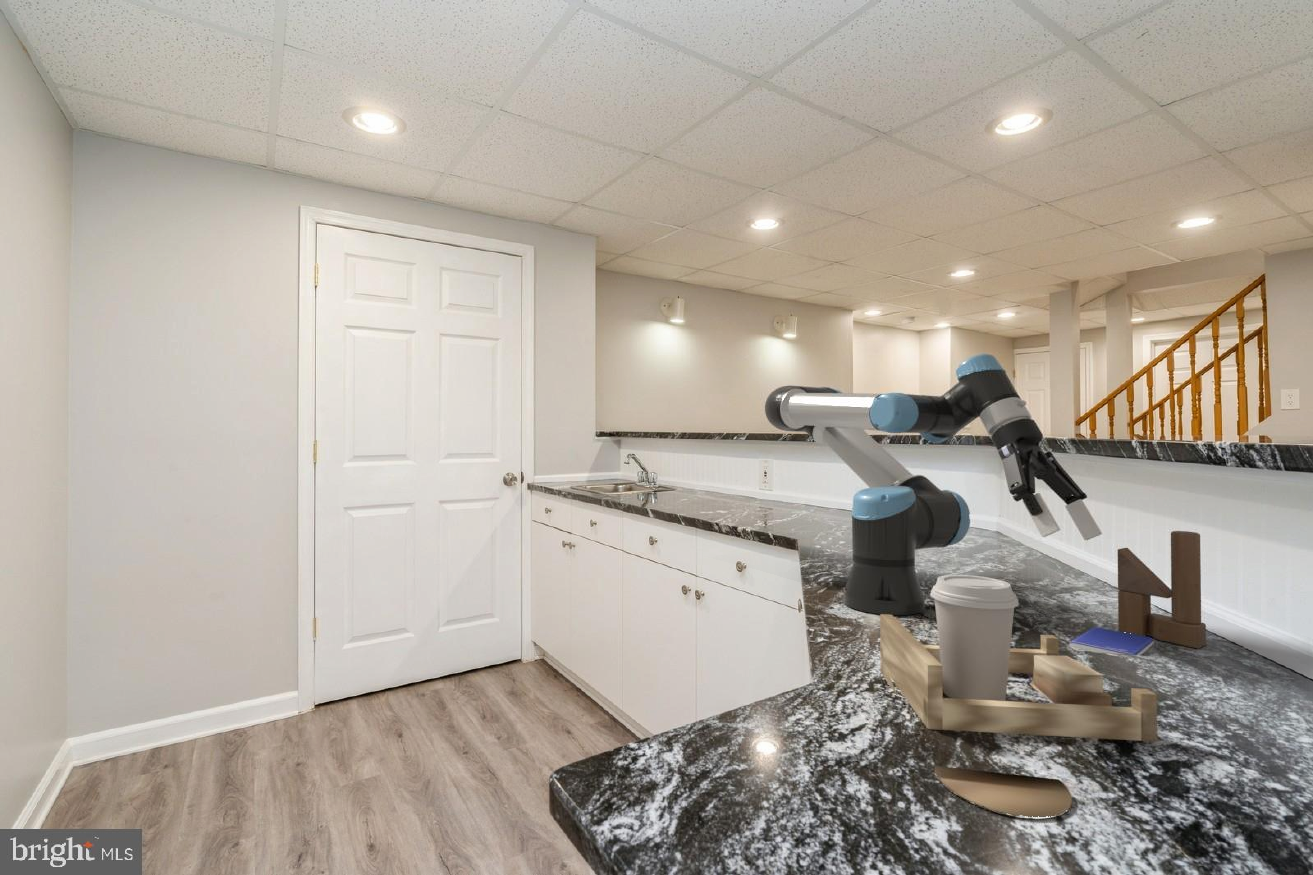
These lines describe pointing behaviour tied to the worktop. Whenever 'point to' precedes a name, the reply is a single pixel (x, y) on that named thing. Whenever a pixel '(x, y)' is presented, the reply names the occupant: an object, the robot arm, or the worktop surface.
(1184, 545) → the brown wooden block structure
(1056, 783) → the trivet
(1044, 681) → the offcut mid
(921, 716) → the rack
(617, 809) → the worktop surface
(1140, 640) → the hard drive
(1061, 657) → the offcut top
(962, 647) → the coffee cup
